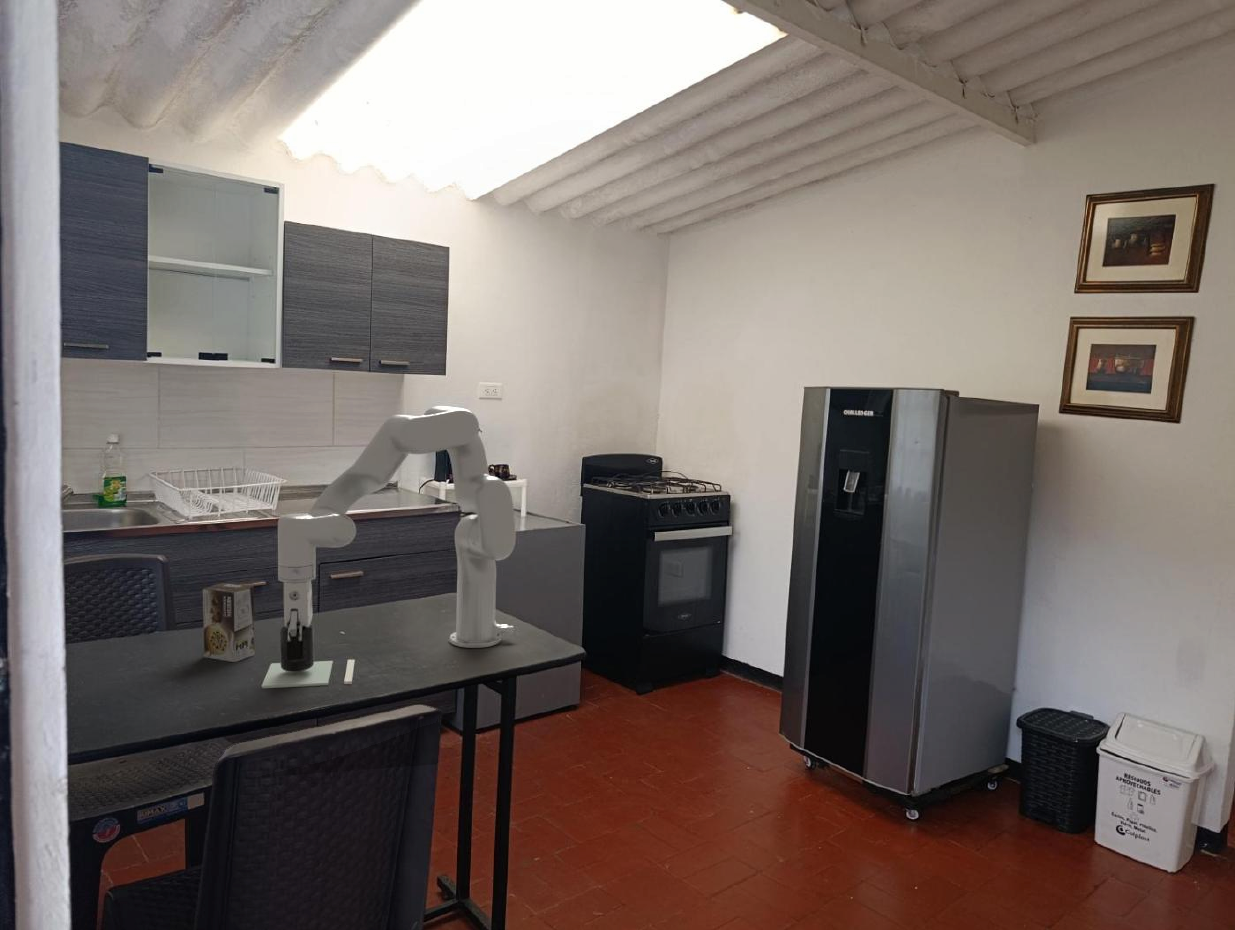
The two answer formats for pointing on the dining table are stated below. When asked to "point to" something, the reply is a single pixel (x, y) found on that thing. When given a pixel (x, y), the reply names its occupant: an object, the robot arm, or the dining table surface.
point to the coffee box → (228, 622)
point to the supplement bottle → (307, 650)
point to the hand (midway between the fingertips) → (297, 652)
